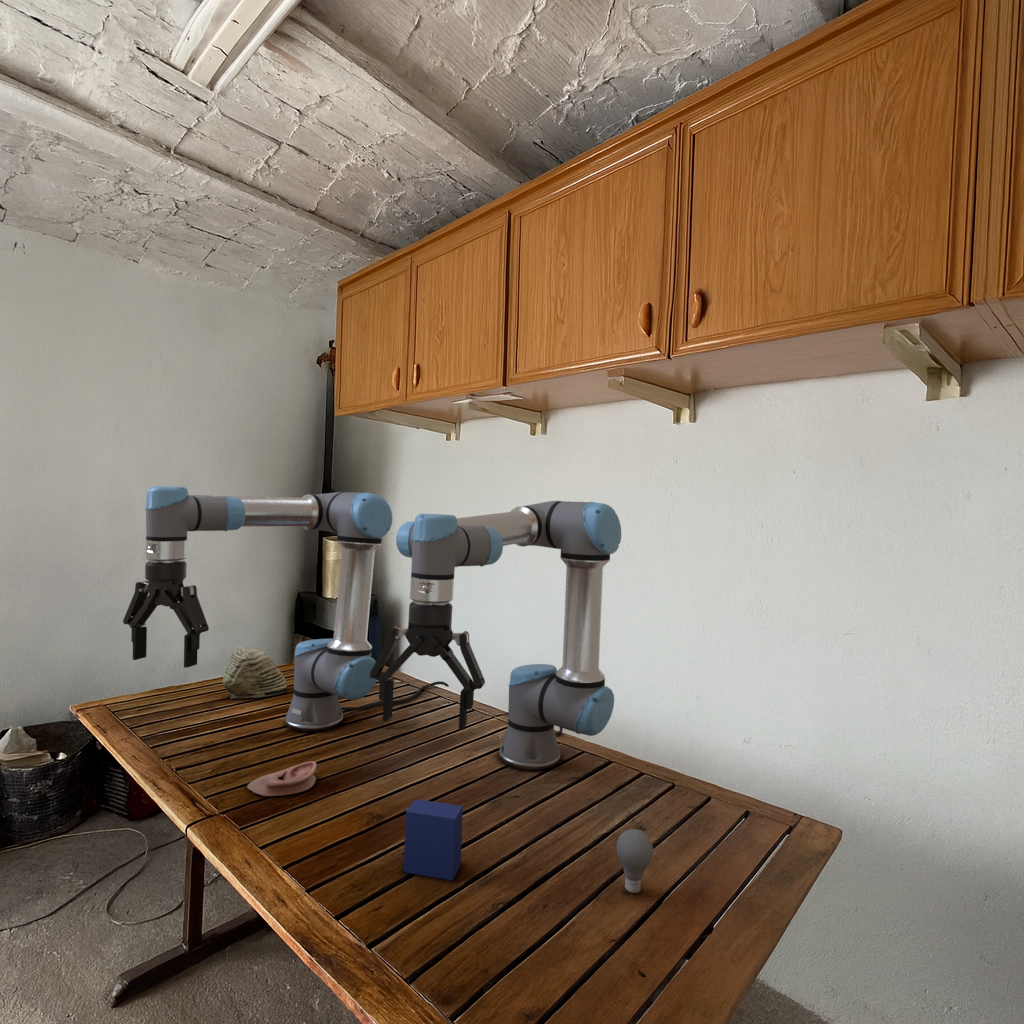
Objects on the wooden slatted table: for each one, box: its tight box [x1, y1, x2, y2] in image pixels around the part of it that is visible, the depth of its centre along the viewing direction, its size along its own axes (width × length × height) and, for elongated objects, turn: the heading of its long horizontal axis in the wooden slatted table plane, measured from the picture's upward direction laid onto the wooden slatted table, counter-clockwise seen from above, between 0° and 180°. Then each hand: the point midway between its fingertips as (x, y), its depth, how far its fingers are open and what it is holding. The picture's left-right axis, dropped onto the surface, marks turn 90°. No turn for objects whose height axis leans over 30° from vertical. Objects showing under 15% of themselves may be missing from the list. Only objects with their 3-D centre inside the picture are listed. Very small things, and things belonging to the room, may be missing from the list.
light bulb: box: [615, 828, 654, 894], centre depth 106 cm, size 6×6×10 cm
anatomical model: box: [246, 760, 317, 797], centre depth 138 cm, size 13×4×12 cm
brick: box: [403, 798, 464, 882], centre depth 110 cm, size 9×5×11 cm, turn 78°
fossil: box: [222, 646, 288, 699], centre depth 198 cm, size 9×18×15 cm, turn 132°
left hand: (164, 662), depth 132 cm, fingers open, 13 cm apart
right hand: (424, 723), depth 111 cm, fingers open, 13 cm apart
